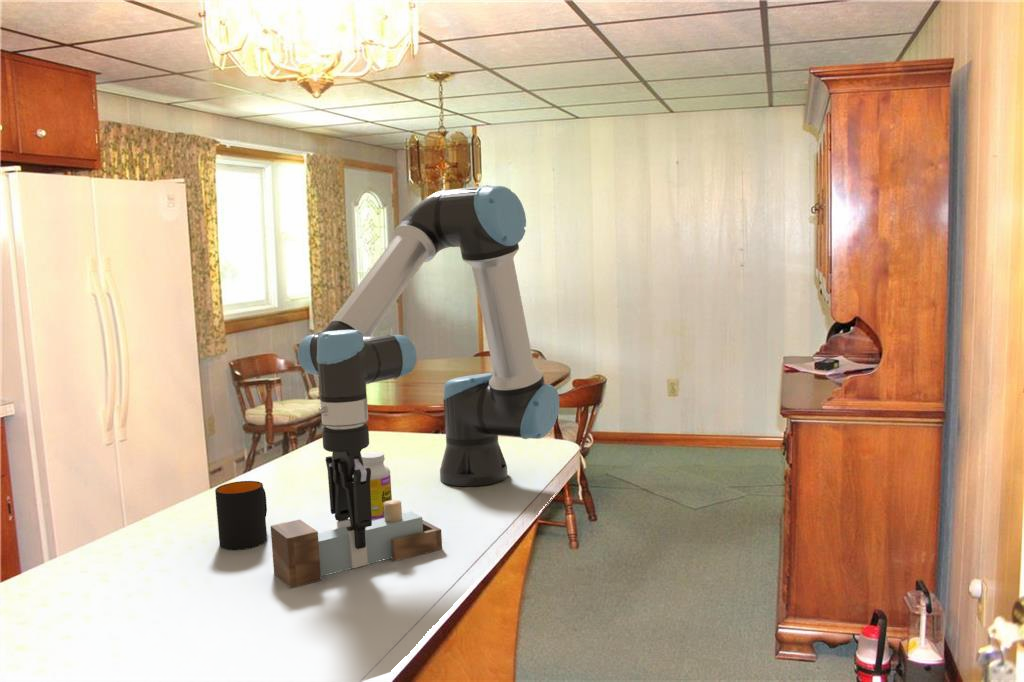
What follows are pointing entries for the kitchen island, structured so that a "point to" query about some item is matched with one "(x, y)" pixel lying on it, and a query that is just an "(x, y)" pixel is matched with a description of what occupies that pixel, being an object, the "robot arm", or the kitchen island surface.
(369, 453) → the supplement bottle
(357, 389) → the robot arm
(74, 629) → the kitchen island surface
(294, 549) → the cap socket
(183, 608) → the kitchen island surface
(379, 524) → the slat
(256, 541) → the mug
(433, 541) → the brown wooden u-shaped frame
